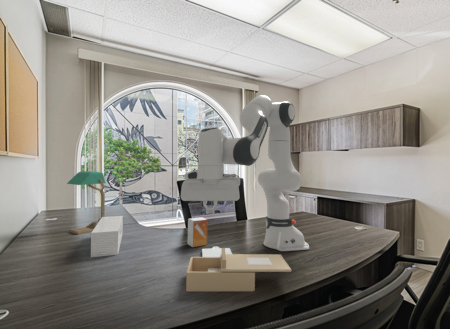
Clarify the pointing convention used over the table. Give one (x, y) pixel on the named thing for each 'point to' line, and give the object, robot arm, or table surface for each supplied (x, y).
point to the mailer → (216, 276)
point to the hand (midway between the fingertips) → (210, 213)
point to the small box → (197, 232)
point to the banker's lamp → (89, 179)
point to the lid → (253, 263)
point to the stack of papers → (107, 236)
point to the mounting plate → (214, 252)
